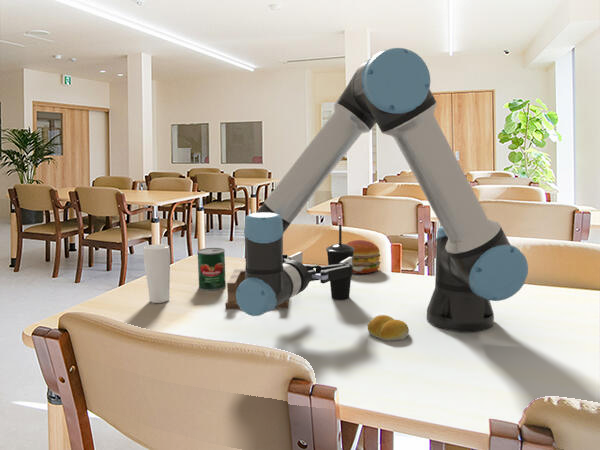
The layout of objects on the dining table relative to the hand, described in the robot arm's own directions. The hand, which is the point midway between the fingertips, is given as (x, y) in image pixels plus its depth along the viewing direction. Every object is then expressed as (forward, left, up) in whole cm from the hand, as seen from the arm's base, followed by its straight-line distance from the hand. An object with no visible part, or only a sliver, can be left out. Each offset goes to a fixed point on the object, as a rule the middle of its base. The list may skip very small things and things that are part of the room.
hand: (325, 259), depth 132 cm
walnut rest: (+8, +18, -13) cm, 23 cm away
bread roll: (-18, -13, -13) cm, 26 cm away
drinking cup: (+9, -4, -13) cm, 16 cm away
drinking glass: (+7, +45, -13) cm, 47 cm away
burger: (+37, -12, -13) cm, 41 cm away
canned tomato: (+20, +33, -13) cm, 40 cm away
